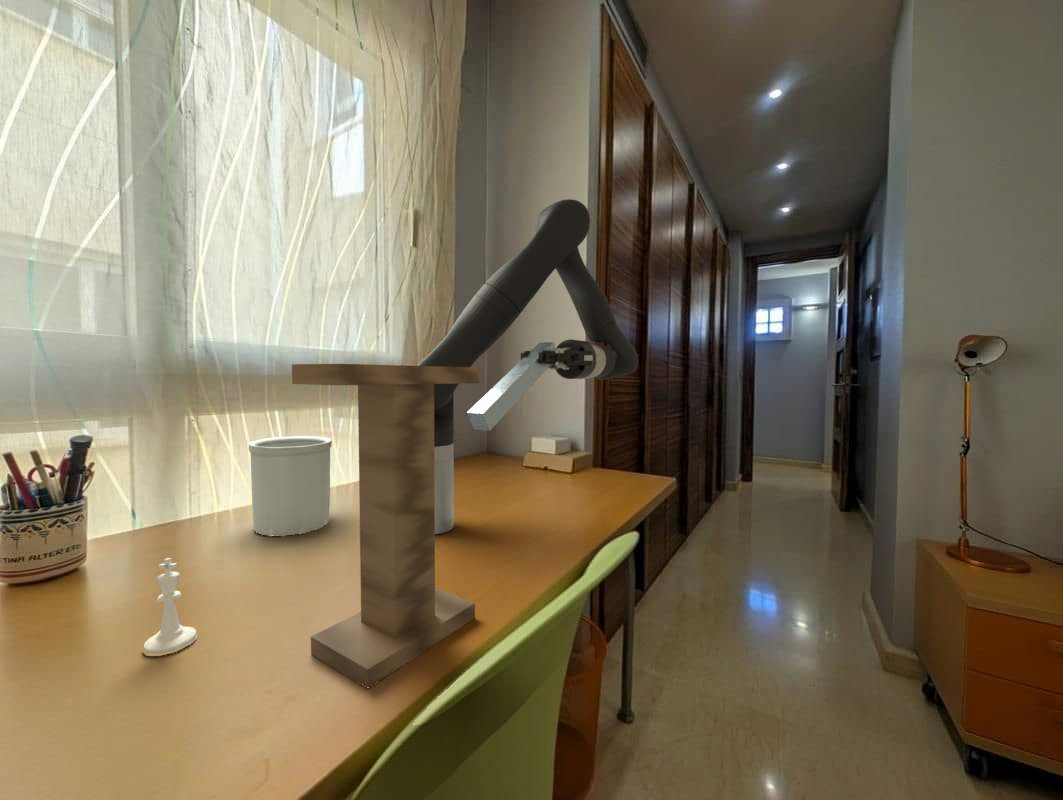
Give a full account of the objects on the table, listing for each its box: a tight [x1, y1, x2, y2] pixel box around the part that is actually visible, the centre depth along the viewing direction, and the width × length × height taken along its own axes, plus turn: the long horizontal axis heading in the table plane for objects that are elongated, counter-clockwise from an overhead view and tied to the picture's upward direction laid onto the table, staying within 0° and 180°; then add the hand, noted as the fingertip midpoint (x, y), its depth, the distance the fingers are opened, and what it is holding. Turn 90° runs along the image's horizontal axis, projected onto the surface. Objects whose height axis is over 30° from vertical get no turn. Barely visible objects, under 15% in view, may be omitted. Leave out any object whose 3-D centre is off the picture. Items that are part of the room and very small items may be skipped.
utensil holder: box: [248, 435, 333, 537], centre depth 93 cm, size 15×15×18 cm
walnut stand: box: [291, 363, 480, 688], centre depth 54 cm, size 20×10×32 cm, turn 146°
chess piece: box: [143, 557, 198, 655], centre depth 52 cm, size 5×5×10 cm
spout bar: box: [466, 341, 556, 432], centre depth 73 cm, size 22×3×3 cm, turn 146°
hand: (531, 357), depth 76 cm, fingers closed on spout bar, 3 cm apart
